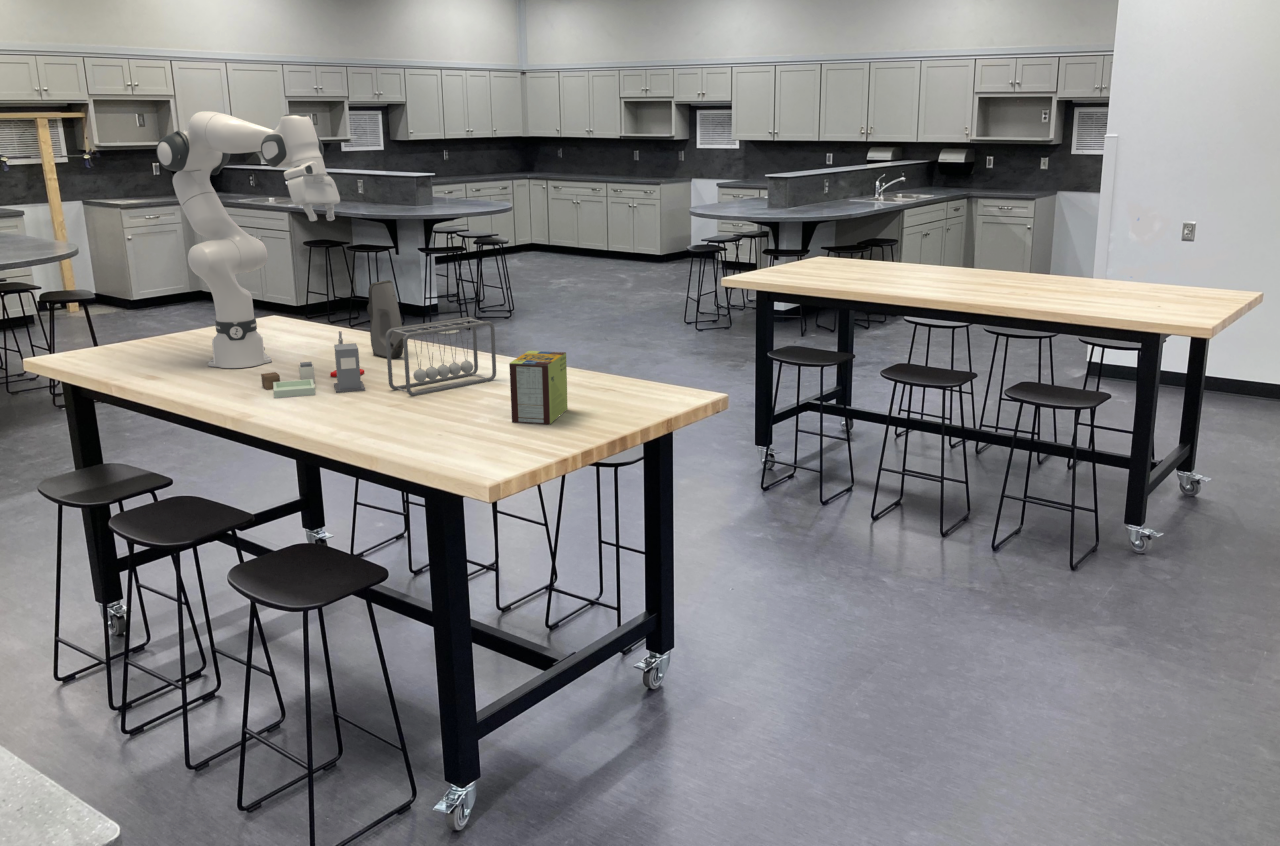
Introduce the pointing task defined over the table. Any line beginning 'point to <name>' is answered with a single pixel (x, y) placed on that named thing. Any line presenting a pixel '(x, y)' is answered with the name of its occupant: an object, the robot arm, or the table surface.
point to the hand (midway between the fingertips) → (322, 220)
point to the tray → (293, 388)
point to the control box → (347, 368)
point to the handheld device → (384, 319)
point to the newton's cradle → (442, 370)
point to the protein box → (538, 387)
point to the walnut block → (269, 380)
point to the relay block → (306, 371)
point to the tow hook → (340, 341)
